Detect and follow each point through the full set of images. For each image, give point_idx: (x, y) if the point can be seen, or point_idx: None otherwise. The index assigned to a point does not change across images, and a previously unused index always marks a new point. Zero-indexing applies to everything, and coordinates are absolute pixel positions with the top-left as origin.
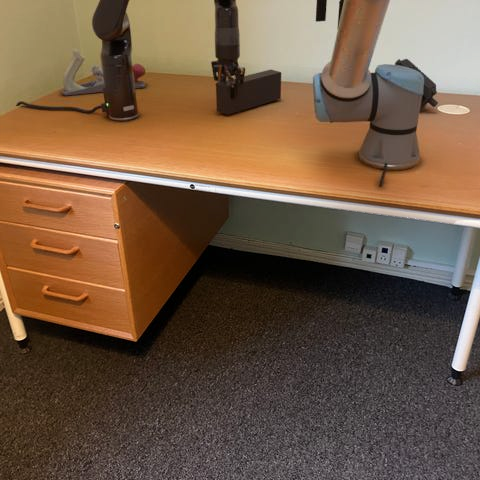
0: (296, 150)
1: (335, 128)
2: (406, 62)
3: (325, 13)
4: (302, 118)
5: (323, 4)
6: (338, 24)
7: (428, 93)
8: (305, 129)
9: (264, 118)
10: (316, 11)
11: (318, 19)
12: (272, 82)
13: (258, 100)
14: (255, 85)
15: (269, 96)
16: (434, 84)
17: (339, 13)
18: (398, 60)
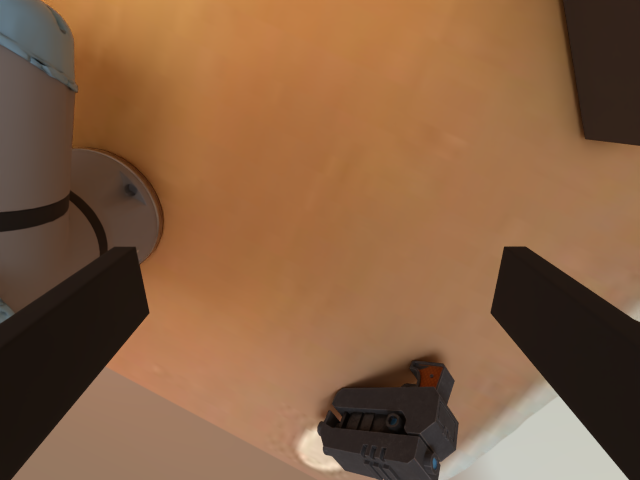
0: (189, 16)
1: (308, 188)
2: (411, 477)
3: (518, 342)
4: (411, 138)
5: (577, 377)
6: (98, 262)
7: (323, 436)
8: (329, 110)
9: (463, 23)
10: (568, 281)
11: (509, 266)
12: (628, 101)
13: (581, 37)
14: (624, 7)
15: (591, 89)
16: (343, 467)
17: (27, 309)
18: (429, 468)
